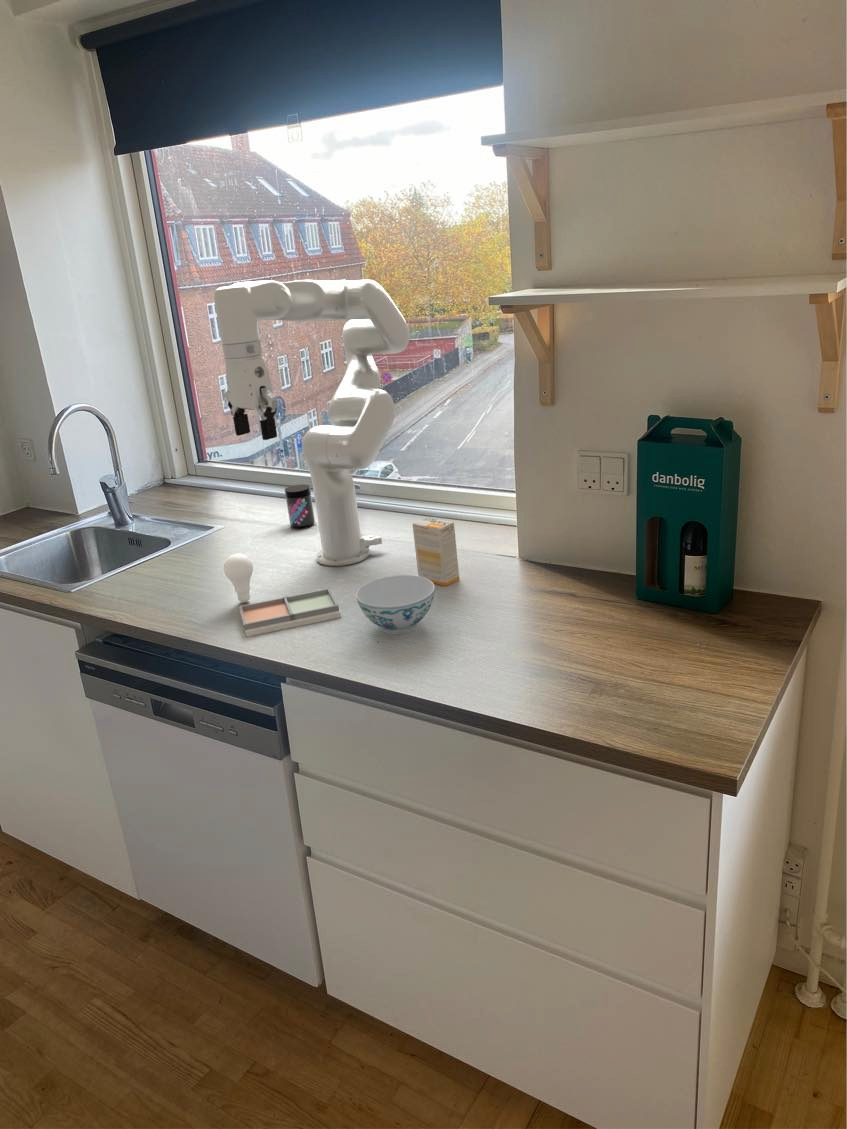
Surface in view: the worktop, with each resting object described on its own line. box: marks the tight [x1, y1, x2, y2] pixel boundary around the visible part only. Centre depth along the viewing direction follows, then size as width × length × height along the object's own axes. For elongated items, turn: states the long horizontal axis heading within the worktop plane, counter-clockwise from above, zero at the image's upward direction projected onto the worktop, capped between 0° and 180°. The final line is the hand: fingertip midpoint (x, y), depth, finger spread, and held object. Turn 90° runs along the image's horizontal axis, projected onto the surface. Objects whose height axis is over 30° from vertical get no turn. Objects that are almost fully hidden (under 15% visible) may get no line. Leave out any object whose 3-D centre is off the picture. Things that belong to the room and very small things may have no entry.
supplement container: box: [284, 484, 316, 530], centre depth 231 cm, size 7×7×10 cm
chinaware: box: [355, 574, 436, 635], centre depth 166 cm, size 15×15×8 cm
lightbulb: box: [223, 552, 254, 603], centre depth 184 cm, size 6×6×11 cm
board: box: [238, 587, 342, 637], centre depth 177 cm, size 19×12×2 cm, turn 106°
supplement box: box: [412, 517, 460, 587], centre depth 185 cm, size 8×5×13 cm, turn 47°
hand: (256, 436), depth 178 cm, fingers open, 9 cm apart
